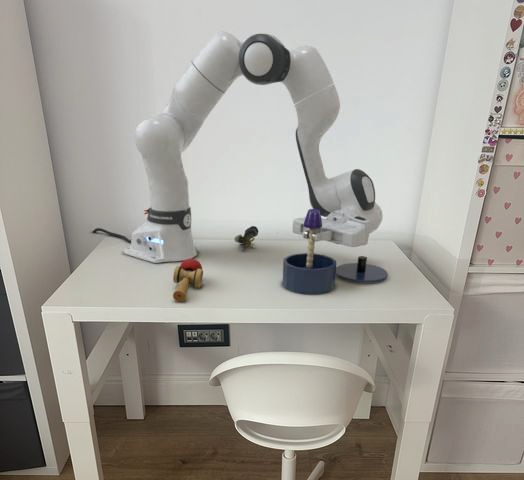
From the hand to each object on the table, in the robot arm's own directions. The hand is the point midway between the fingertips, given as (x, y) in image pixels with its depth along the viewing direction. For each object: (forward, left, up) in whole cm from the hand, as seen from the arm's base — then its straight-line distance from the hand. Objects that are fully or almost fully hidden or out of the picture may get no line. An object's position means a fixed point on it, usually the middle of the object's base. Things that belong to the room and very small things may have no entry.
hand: (309, 236), depth 125 cm
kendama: (-26, -17, -13) cm, 34 cm away
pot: (0, +1, -13) cm, 13 cm away
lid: (+10, +15, -12) cm, 22 cm away
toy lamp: (0, +1, -10) cm, 10 cm away
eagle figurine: (-30, +23, -13) cm, 40 cm away
